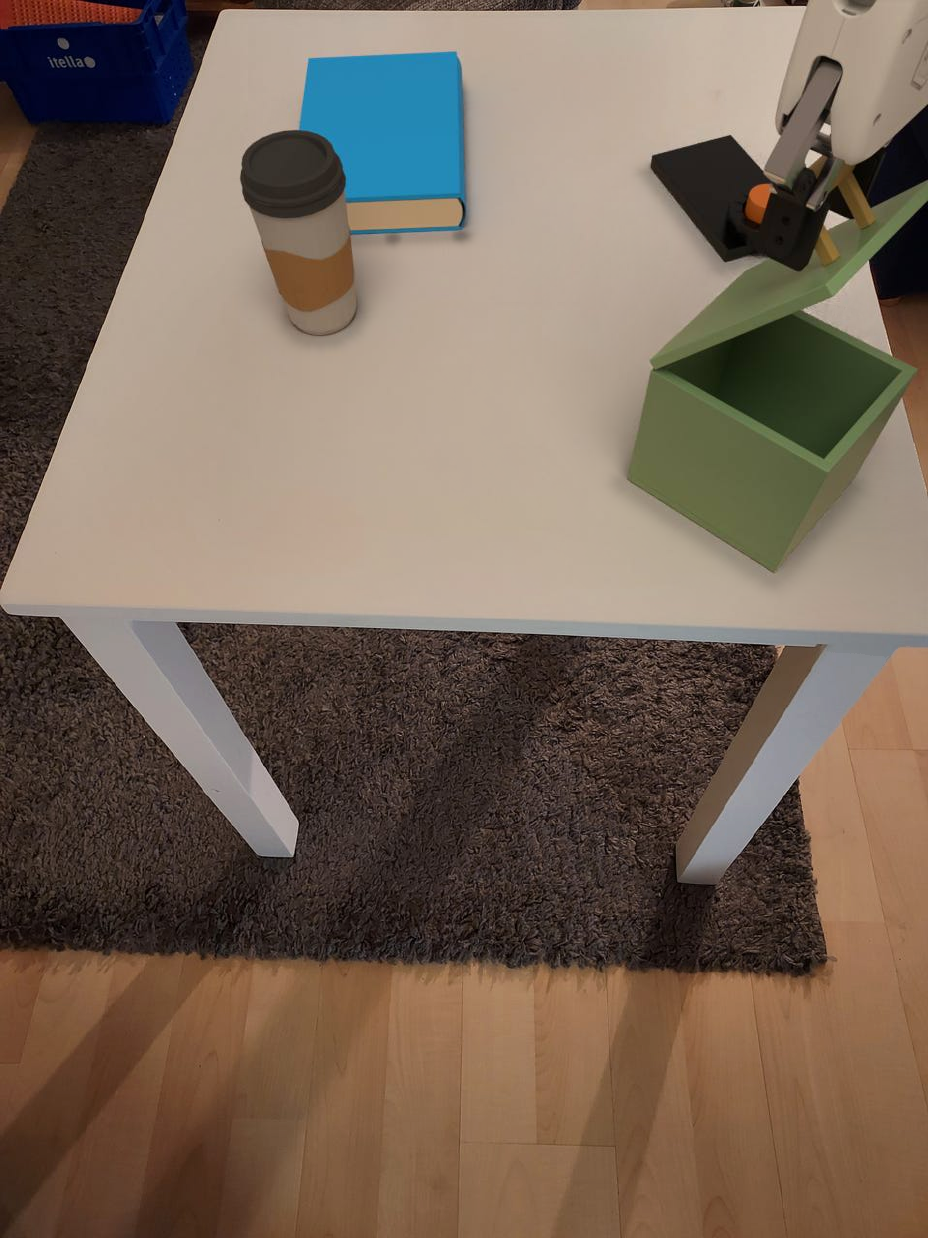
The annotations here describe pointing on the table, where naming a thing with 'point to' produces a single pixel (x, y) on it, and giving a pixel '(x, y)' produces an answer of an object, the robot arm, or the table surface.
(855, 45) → the robot arm
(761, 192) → the button
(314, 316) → the coffee cup
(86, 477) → the table surface
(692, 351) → the lid
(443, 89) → the book
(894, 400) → the chest
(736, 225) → the button housing
